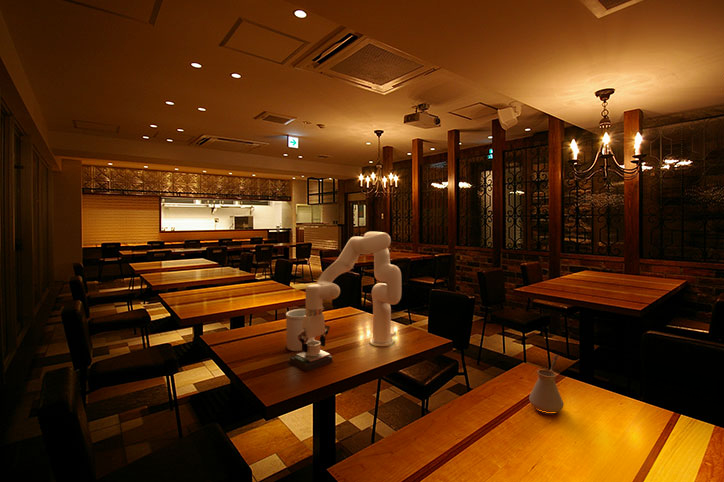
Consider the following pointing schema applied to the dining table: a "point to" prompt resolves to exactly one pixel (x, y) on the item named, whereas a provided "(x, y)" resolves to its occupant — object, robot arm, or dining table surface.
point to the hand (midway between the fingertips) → (313, 348)
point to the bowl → (313, 348)
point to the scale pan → (313, 358)
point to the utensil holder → (295, 329)
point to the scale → (309, 365)
